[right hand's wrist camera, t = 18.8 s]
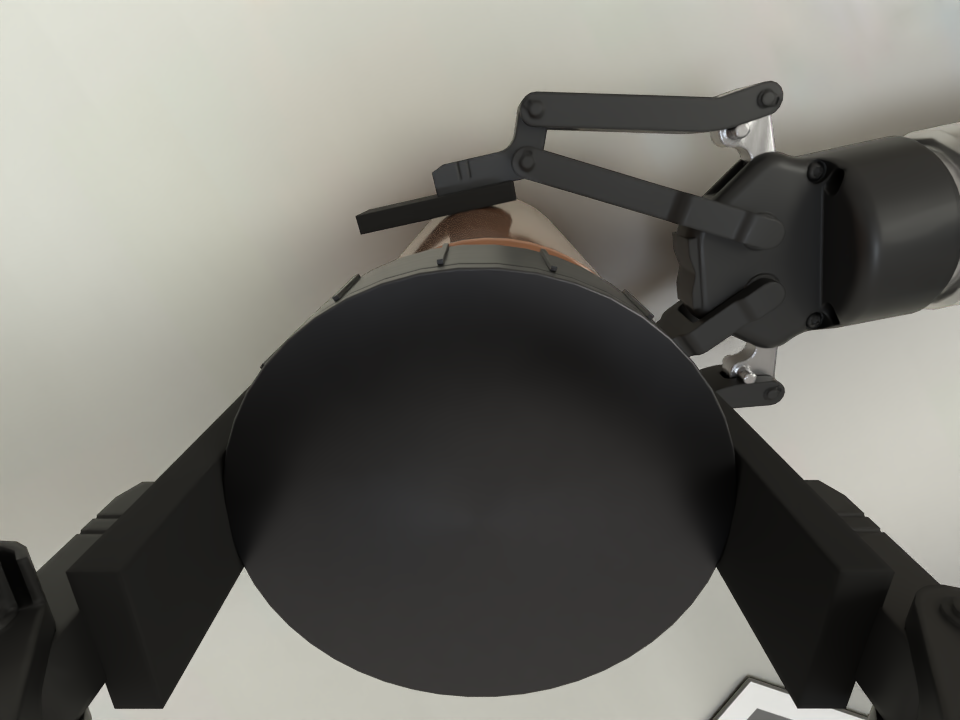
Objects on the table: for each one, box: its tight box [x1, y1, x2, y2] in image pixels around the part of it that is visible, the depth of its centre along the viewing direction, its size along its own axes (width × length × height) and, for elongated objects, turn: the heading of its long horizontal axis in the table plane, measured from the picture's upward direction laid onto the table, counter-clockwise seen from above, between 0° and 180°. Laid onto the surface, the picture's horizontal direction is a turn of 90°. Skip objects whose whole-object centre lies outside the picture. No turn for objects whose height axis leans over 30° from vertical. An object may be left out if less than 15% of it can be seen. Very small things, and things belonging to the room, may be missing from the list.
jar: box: [398, 199, 602, 278], centre depth 22 cm, size 9×9×18 cm
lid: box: [223, 243, 737, 697], centre depth 11 cm, size 10×10×2 cm
